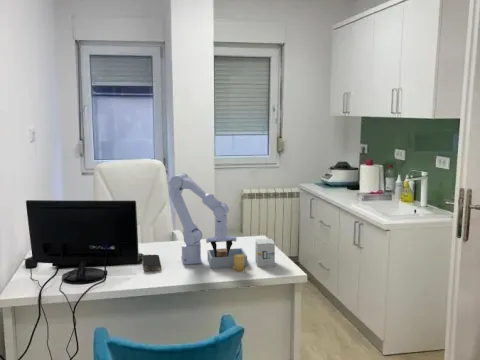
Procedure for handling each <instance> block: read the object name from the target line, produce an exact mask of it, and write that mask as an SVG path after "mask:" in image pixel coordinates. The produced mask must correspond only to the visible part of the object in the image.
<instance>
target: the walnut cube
mask: <svg viewBox="0 0 480 360" xmlns="http://www.w3.org/2000/svg"><path fill="white" fill-rule="evenodd" d="M216 253H217V257H227V250H226V247H225V248H216Z"/></svg>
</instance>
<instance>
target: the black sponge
mask: <svg viewBox="0 0 480 360" xmlns="http://www.w3.org/2000/svg"><path fill="white" fill-rule="evenodd" d="M141 257H142V259H141V260H142V266H143V270H144V271H148V272H149V271H157V272H158V271H161V270H162V264H161V260H160V255H158V254H144V255H142V256H141Z"/></svg>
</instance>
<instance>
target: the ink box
mask: <svg viewBox="0 0 480 360" xmlns="http://www.w3.org/2000/svg"><path fill="white" fill-rule="evenodd" d="M275 246H276V244H275V241H274V240H273V238H260V239H259V238H258V239H257V238H256V239H255V264H256V266H257V268H266V267H268V268H269V267H271V268H272V267H276V266H275V264H276V260H275V259H276V256H275V254H276V252H275V250H276V249H275V248H276V247H275Z"/></svg>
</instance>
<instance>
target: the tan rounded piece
mask: <svg viewBox="0 0 480 360" xmlns="http://www.w3.org/2000/svg"><path fill="white" fill-rule="evenodd" d="M233 271H234V272H235V271H236V272H237V273H243V272H245V266H244V255H242V254H236V255H234V267H233Z"/></svg>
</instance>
